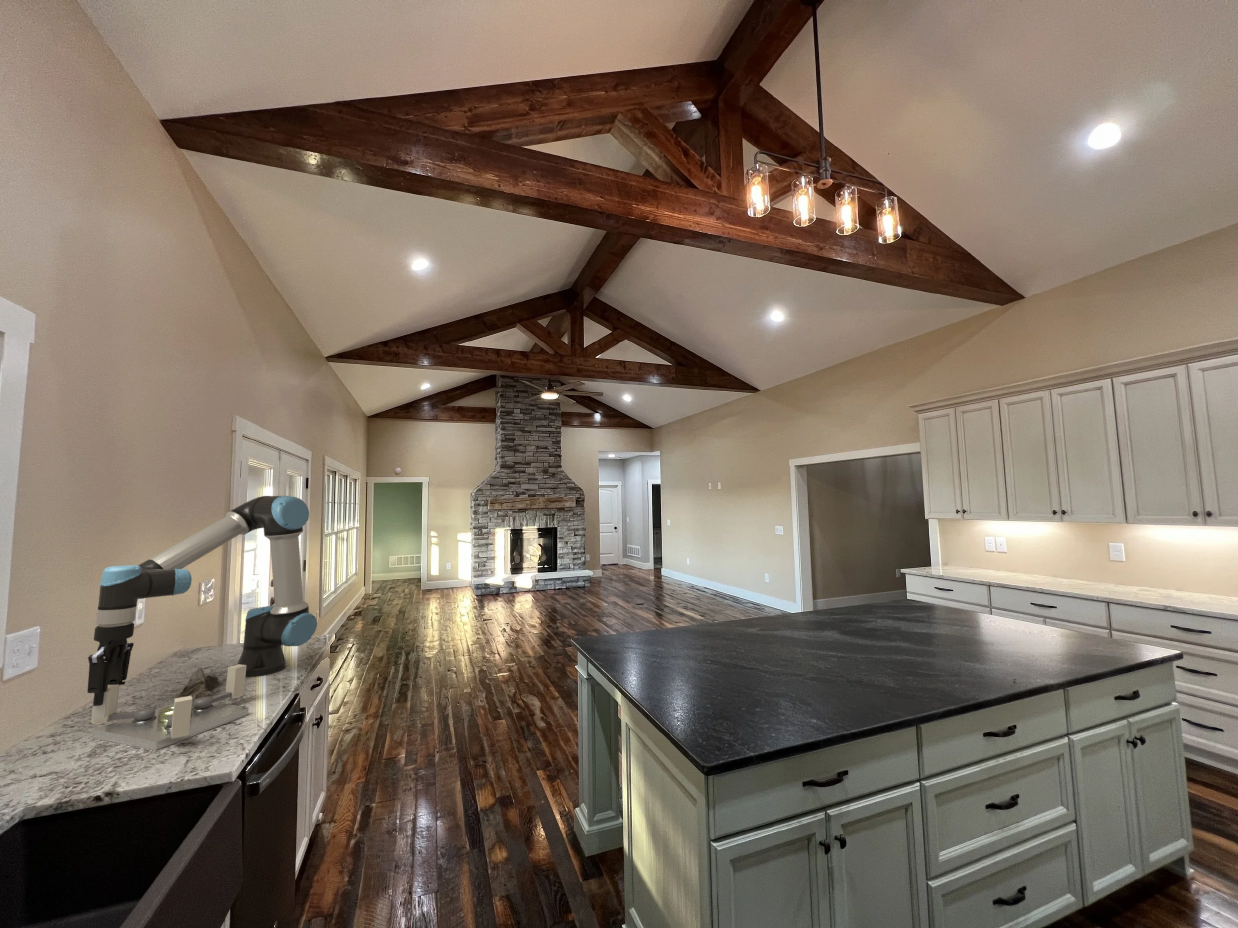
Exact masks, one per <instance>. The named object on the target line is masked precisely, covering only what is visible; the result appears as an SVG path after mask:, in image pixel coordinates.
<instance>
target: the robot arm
mask: <svg viewBox="0 0 1238 928" xmlns="http://www.w3.org/2000/svg"><path fill="white" fill-rule="evenodd" d="M309 517H310V510H309V506H308V505H307V504H306V502H305V501H303V499H301V498H299V497H296V496H292V495H263V496H262V495H261V496H258V497H255V498H253V499H251V500H248V501H247V502H245V503H243V504H241V505H238V506H237V507H235V508H233V509H231V510H230V511H227V512H226V513H225V517H223V518H221V519H219V520H218V521H216V522H214V523H212V524H210V525H208V526H207V527H205V528H203V529H201V530H199V531H198V532H196V533H194V534H192V535H191V536H189V537H187V538H185V539H183V540H182V541H179V542H178V543H176V544H174V545H173V546H170V547H169V548H166V549H165V550H163V551H161V552H159V553H157V554H156V555H154V556H152V557H151V558H149V559H147V560H145V561H143V562H141V563H139V564H138V565H135V564H133V565H132V564H130V565H129V564H128V565H113V566H107V567H106V568H104V570H103V572H102V575H101V579H100V582H99V595H98V597H99V598H98V605H97V611H96V613H95V615H96V620H95V624H96V625H97V626H96V627H95V628H94V632H93V633H94V634H93V641H94V642H97V643H99V644H98V646H97V650H96V651H97V652H95V654H89V656H88V658H87V660H88V664H89V667H88V677H87V679H88V680H87V693H88V694H93V701H92V702H93V704H92V710H91V717H90V718H91V720H92V718H104V717H106V714H107V705H108V697H109V691H107V687H108V685H119V688H121V687H120V686H123V685H125V684H126V680H127V678H128V673H129V666H130V660H131V656H132V655H131V654H132V650H133V647H134V642H128V639H131V638H132V637H133V636H134V632H135V623H134V621H136V614H137V607H138V600H142V599H143V600H144V599H149V598H158V597H159V598H161V597H169V596H172V597H173V596H176V595H182V594H185V593H186V592H188V591H189V589H190V588H191V586H192V580H193V579H192V574H191V573H190V571H189V570H188V569H186V568H185V567H188V565H191V564H193V563H194V562H195V561H197V560H200V559H201V558H203V557H204V556H206V555H207V554H209V553H211V552H213V551H215V550H216V549H218V548H219V547H221V546H223V545H224V544H226V543H228V542H230V541H231V540H233V539H235V538H236V537H238V536H239V535H243V536H245V535H247V534H248V533H250V532H252V531H255V530H258V529H263V535H264V537H265V538H266V539H268V540H269V542H270V543H269V544H270V546H269V547H270V557H271V558H270V559H271V571H272V572H271V573H272V584H273V585H272V587H273V598H274V599H273V600H274V605H268V606H261V607H260V606H259V607H256V608H255V607H254V608H251V609H248V611H247V613H246V617H245V620H244V622H245V624H244V625H245V626H244V628H245V629H244V636H243V637H244V638H243V649H242V653H241V654H240V656H239V657H240V658H239V659H238V661H237V664H236V665H238V664H240V665H246V676H245V678H246V677H248V678H249V677H258V676H259V677H260V676H261V677H262V676H266V675H271V674H274V673H275V674H276V673H278V672H280V671H283V670H284V669H286V659H285V655H284V650H283V648H282V647H283V646H285V647H299V646H303V645H304V644H305V643H307V642H309V641H310V640H311V638H312V637H313V636H314V634H315V632H316V631H317V626H318V620H317V617H316V616H315V615H314V614H313V613H311V612H310V609H309V608H310V607H309V603H308V602H306V601H305V600H304V595H303V593H304V592H303V579H302V567H301V566H302V564H301V555H300V553H301V551H300V550H301V549H300V538H299V536H300V535H301V534H302V533H303V532H304V526H305V525H306V524H307V522H308V521H309V519H310V518H309ZM119 694H120V689H119V690H118V696H120V695H119ZM118 702H119V697H118V698H117V704H119V703H118ZM117 710H118V706H117V707H116V712H117Z"/></svg>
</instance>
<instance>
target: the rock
mask: <svg viewBox="0 0 1238 928" xmlns="http://www.w3.org/2000/svg"><path fill="white" fill-rule="evenodd" d="M221 684H222V682H221V680H220V678H219V677H218V676H216V675H210V674H206V675H205V673H204V670H203V668H202V667H198V668H197V669H196V670H195V671H194V672H192V675H191V676H190V678H189V680H188V681H187V682H186V684H184V687H183V688H182V689H181V690H180V691H179V692H178V693H177V694H176V696H175V697H174V698H173V699H172V701H173V702H174V700H175V699H176V698H181V697H187V696H192V699H197V698H201V697H207V696H210V697H213V693H212V692H213V691H214V690H216V689H218V688H220V686H221Z"/></svg>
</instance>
